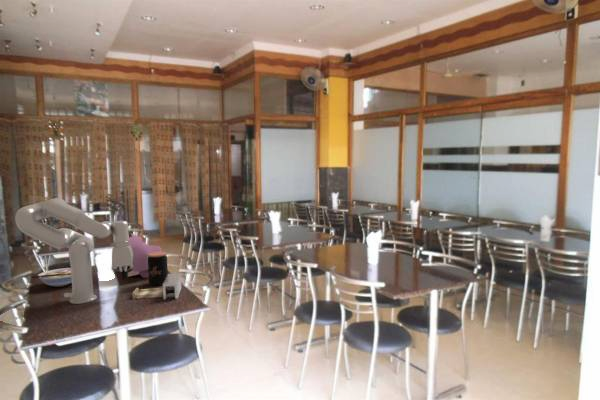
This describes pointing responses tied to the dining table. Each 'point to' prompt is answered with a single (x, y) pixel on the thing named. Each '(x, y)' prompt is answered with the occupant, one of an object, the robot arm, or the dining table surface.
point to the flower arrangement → (141, 255)
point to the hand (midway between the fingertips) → (124, 278)
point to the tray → (147, 293)
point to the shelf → (172, 285)
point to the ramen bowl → (56, 277)
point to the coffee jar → (157, 268)
